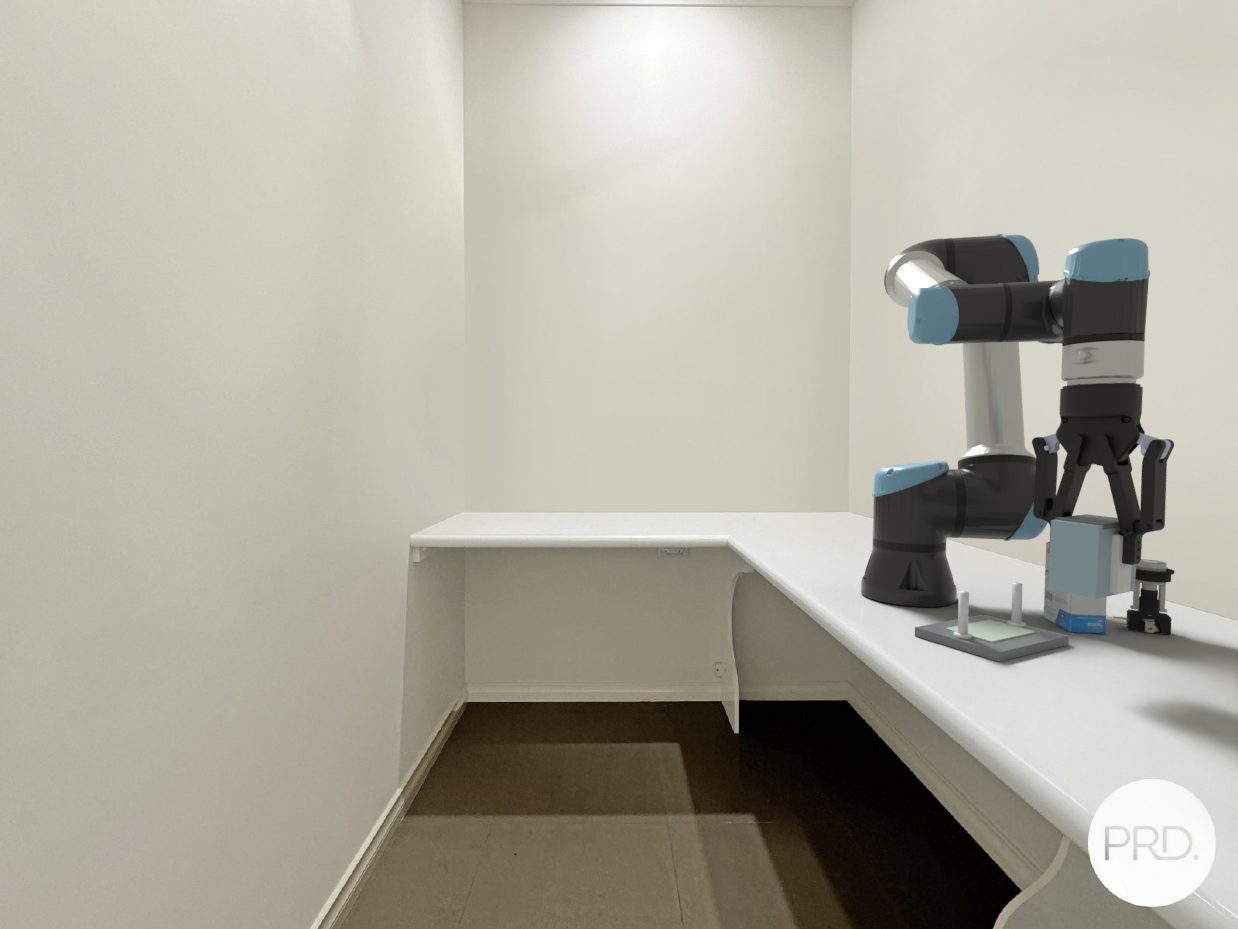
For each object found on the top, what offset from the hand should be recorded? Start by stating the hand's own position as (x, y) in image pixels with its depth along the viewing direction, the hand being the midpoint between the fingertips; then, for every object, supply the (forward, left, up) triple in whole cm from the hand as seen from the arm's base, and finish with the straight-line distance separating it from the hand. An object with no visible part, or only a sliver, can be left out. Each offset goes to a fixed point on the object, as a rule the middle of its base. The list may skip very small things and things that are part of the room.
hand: (1091, 585), depth 76 cm
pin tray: (-14, +3, -10) cm, 17 cm away
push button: (-7, +27, -11) cm, 29 cm away
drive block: (0, 0, 0) cm, 0 cm away
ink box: (-13, +21, -11) cm, 26 cm away
